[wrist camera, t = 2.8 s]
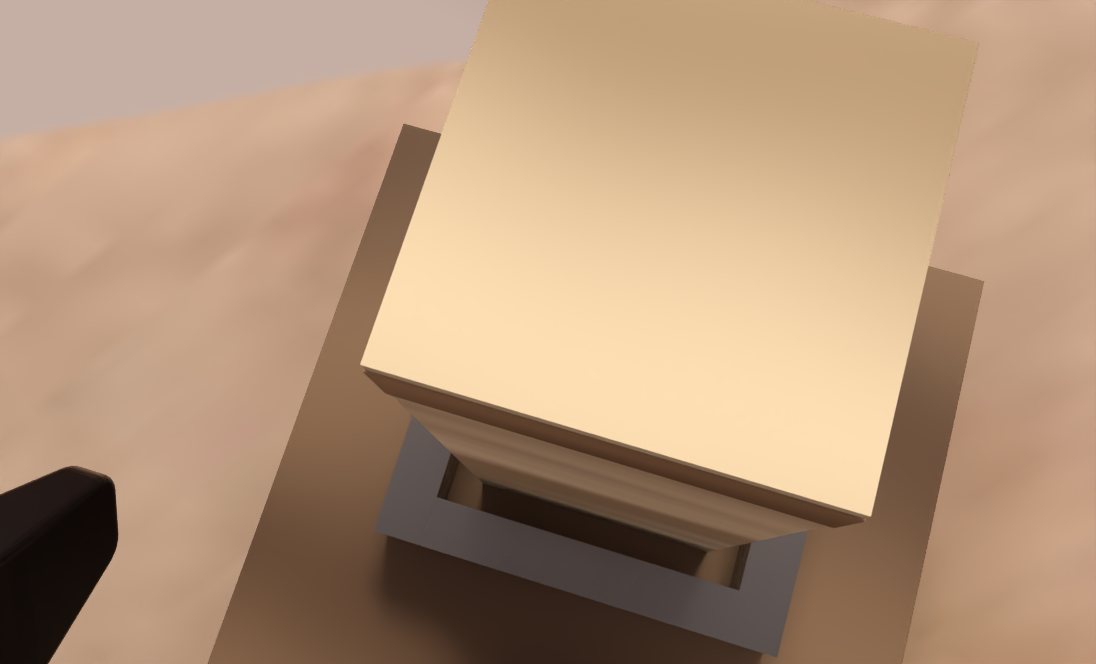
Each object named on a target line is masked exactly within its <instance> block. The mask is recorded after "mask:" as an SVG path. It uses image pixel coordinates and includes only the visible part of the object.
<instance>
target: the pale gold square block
mask: <svg viewBox="0 0 1096 664" xmlns="http://www.w3.org/2000/svg"><path fill="white" fill-rule="evenodd" d="M978 47H979V43H978V42H974V41H970V40H966V39H962V38H958V37H954V36H950V35H946V34H942V33H938V32H934V31H930V30H926V29H922V28H918V27H914V26H910V25H906V24H901V23H897V22H893V21H889V20H885V19H881V18H877V17H873V16H869V15H865V14H861V13H857V12H853V11H849V10H845V9H841V8H837V7H833V6H829V5H825V4H821V3H817V2H813V1H809V0H489V1H488V4H487V7H486V9H485V12H484V15H483V18H482V21H481V24H480V27H479V29H478V32H477V35H476V38H475V41H474V43H473V46H472V49H471V52H470V55H469V57H468V60H467V63H466V66H465V69H464V72H463V74H462V77H461V80H460V83H459V86H458V89H457V91H456V94H455V97H454V100H453V103H452V106H451V108H450V111H449V114H448V117H447V120H446V123H445V125H444V128H443V131H442V134H441V137H440V140H439V142H438V145H437V148H436V151H435V154H434V157H433V159H432V162H431V165H430V168H429V171H428V174H427V176H426V179H425V182H424V185H423V188H422V191H421V193H420V196H419V199H418V202H417V205H416V208H415V210H414V213H413V216H412V219H411V222H410V225H409V227H408V230H407V233H406V236H405V239H404V241H403V244H402V247H401V250H400V253H399V256H398V258H397V261H396V264H395V267H394V270H393V273H392V275H391V278H390V281H389V284H388V287H387V290H386V292H385V295H384V298H383V301H382V304H381V307H380V309H379V312H378V315H377V318H376V321H375V324H374V326H373V329H372V332H371V335H370V338H369V341H368V343H367V346H366V349H365V352H364V355H363V358H362V360H361V363H360V365H361V366H362V367H363V371H362V372H363V373H364V374H365V375H366V376H367V377H368V378H370V379H371V380H372V381H373V382H374V383H375V384H376V385H377V386H378V387H379V388H380V389H381V390H382V391H383V392H384V393H385V394H388V395H391V396H393V397H394V398H395V399H396V400H397V401H398V402H399V403H400V404H401V405H402V406H403V407H404V408H405V409H406V410H407V411H408V412H409V413H410V414H412V415H413V416H414V417H415V418H416V419H417V420H418V421H419V422H420V423H421V424H422V425H423V426H424V427H425V428H426V429H427V430H428V431H429V432H430V433H431V434H432V435H433V436H434V437H435V438H436V439H437V440H438V441H439V442H440V443H442V444H443V445H444V446H445V447H446V448H447V449H448V450H449V451H450V452H451V453H452V454H453V455H454V456H455V457H456V458H457V459H458V460H459V461H460V462H461V463H462V464H463V465H464V466H465V467H466V468H467V469H468V470H469V471H470V472H472V473H473V474H474V475H475V476H476V477H477V478H478V479H479V480H480V481H481V482H482V483H483V484H487V485H490V486H493V487H497V488H500V489H503V490H506V491H510V492H513V493H516V494H519V495H523V496H526V497H529V498H532V499H536V500H539V501H542V502H546V503H549V504H552V505H555V506H559V507H562V508H565V509H568V510H572V511H575V512H578V513H581V514H585V515H588V516H591V517H595V518H598V519H601V520H604V521H608V522H611V523H614V524H617V525H621V526H624V527H627V528H630V529H634V530H637V531H640V532H644V533H647V534H650V535H653V536H657V537H660V538H663V539H666V540H670V541H673V542H676V543H679V544H683V545H686V546H689V547H693V548H696V549H699V550H702V551H706V552H710V551H714V550H719V549H724V548H728V547H733V546H737V545H742V544H747V543H751V542H756V541H761V540H765V539H770V538H775V537H779V536H784V535H789V534H793V533H798V532H802V531H807V530H812V529H816V528H821V527H826V526H828V527H831V528H837V527H842V526H847V525H852V524H857V523H862V522H866V518H867V517H871V514H872V510H873V506H874V501H875V497H876V492H877V488H878V484H879V479H880V475H881V471H882V466H883V462H884V458H885V453H886V449H887V444H888V440H889V436H890V431H891V427H892V423H893V418H894V414H895V409H896V405H897V401H898V396H899V392H900V388H901V383H902V379H903V374H904V370H905V366H906V361H907V357H908V353H909V348H910V344H911V340H912V335H913V331H914V326H915V322H916V318H917V313H918V309H919V305H920V300H921V296H922V291H923V287H924V283H925V278H926V274H927V270H928V265H929V261H930V256H931V252H932V248H933V243H934V239H935V235H936V230H937V226H938V222H939V217H940V213H941V208H942V204H943V200H944V195H945V191H946V187H947V182H948V178H949V173H950V169H951V165H952V160H953V156H954V152H955V147H956V143H957V138H958V134H959V130H960V125H961V121H962V117H963V112H964V108H965V103H966V99H967V95H968V90H969V86H970V82H971V77H972V73H973V69H974V64H975V60H976V55H977V51H978Z"/></svg>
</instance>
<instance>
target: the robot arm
mask: <svg viewBox="0 0 1096 664" xmlns="http://www.w3.org/2000/svg"><path fill="white" fill-rule="evenodd" d="M117 542H118V522H117V507H116V492H115V485H114V483H113V481H112V479H111V478H110V477H108V476H107V475H104V474H101V473H98V472H95V471H92V470H88V469H85V468H82V467H78V466H69V467H65V468H62V469H59V470H57V471H55V472H52V473H50V474H47V475H45V476H43V477H40V478H38V479H36V480H33V481H31V482H28V483H26V484H24V485H21V486H19V487H17V488H14V489H12V490H10V491H7V492H5V493H2V494H0V664H48V663H49V662H50V660H51V658H52V657H53V655H54V653H55V652H56V650H57V648H58V647H59V645H60V644H61V642H62V640H63V639H64V637H65V635H66V634H67V632H68V630H69V629H70V627H71V625H72V624H73V622H74V621H75V619H76V617H77V616H78V614H79V612H80V611H81V609H82V607H83V606H84V604H85V602H86V601H87V599H88V598H89V596H90V594H91V593H92V591H93V589H94V588H95V586H96V584H97V583H98V581H99V579H100V578H101V576H102V575H103V573H104V571H105V570H106V568H107V566H108V565H109V563H110V561H111V559H112V557H113V555H114V553H115V550H116V547H117Z"/></svg>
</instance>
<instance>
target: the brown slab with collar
mask: <svg viewBox="0 0 1096 664" xmlns="http://www.w3.org/2000/svg"><path fill="white" fill-rule="evenodd" d="M440 137H441V134H440V133H436V132H432V131H429V130H425V129H421V128H417V127H414V126H410V125H406V124H403V127H402V130H401V133H400V135H399V138H398V141H397V144H396V146H395V149H394V152H393V155H392V157H391V160H390V163H389V166H388V168H387V171H386V174H385V177H384V180H383V182H382V185H381V188H380V191H379V193H378V196H377V199H376V202H375V204H374V207H373V210H372V213H371V215H370V218H369V221H368V224H367V226H366V229H365V232H364V235H363V237H362V240H361V243H360V246H359V248H358V251H357V254H356V257H355V259H354V262H353V265H352V268H351V270H350V273H349V276H348V279H347V281H346V284H345V287H344V290H343V292H342V295H341V298H340V301H339V303H338V306H337V309H336V312H335V314H334V317H333V320H332V323H331V325H330V328H329V331H328V334H327V336H326V339H325V342H324V345H323V347H322V350H321V353H320V356H319V358H318V361H317V364H316V367H315V369H314V372H313V375H312V378H311V380H310V383H309V386H308V389H307V391H306V394H305V397H304V400H303V403H302V405H301V408H300V411H299V414H298V416H297V419H296V422H295V425H294V427H293V430H292V433H291V436H290V438H289V441H288V444H287V447H286V449H285V452H284V455H283V458H282V460H281V463H280V466H279V469H278V471H277V474H276V477H275V480H274V482H273V485H272V488H271V491H270V493H269V496H268V499H267V502H266V504H265V507H264V510H263V513H262V515H261V518H260V521H259V524H258V526H257V529H256V532H255V535H254V537H253V540H252V543H251V546H250V548H249V551H248V554H247V557H246V559H245V562H244V565H243V568H242V570H241V573H240V576H239V579H238V581H237V584H236V587H235V590H234V592H233V595H232V598H231V601H230V603H229V606H228V609H227V612H226V614H225V617H224V620H223V623H222V626H221V628H220V631H219V634H218V637H217V639H216V642H215V645H214V648H213V650H212V653H211V656H210V659H209V661H208V664H902V660H903V656H904V651H905V647H906V642H907V637H908V633H909V628H910V623H911V619H912V614H913V609H914V605H915V600H916V595H917V591H918V586H919V581H920V577H921V572H922V567H923V563H924V558H925V554H926V549H927V544H928V540H929V535H930V530H931V526H932V521H933V516H934V512H935V507H936V502H937V498H938V493H939V488H940V484H941V479H942V474H943V470H944V465H945V461H946V456H947V451H948V447H949V442H950V437H951V433H952V428H953V423H954V419H955V414H956V409H957V405H958V400H959V395H960V391H961V386H962V381H963V377H964V372H965V368H966V363H967V358H968V354H969V349H970V344H971V340H972V335H973V330H974V326H975V321H976V316H977V312H978V307H979V302H980V298H981V293H982V288H983V284H984V281H981V280H978V279H974V278H970V277H967V276H963V275H959V274H956V273H952V272H948V271H945V270H941V269H937V268H933V267H930V266H928V270H927V274H926V278H925V283H924V287H923V291H922V296H921V300H920V305H919V309H918V313H917V318H916V322H915V326H914V331H913V335H912V340H911V344H910V348H909V353H908V357H907V361H906V366H905V370H904V374H903V379H902V383H901V388H900V392H899V396H898V401H897V405H896V409H895V414H894V418H893V423H892V427H891V431H890V436H889V440H888V444H887V449H886V453H885V458H884V462H883V466H882V471H881V475H880V479H879V484H878V488H877V492H876V497H875V501H874V506H873V510H872V514H871V517H867V518H866V522H862V523H857V524H852V525H847V526H842V527H837V528H831V527H828V526H826V527H821V528H816V529H812V530H807V531H802V532H798V533H793V534H789V535H784V536H779V537H775V538H770V539H765V540H761V541H756V542H751V543H747V544H742V545H737V546H733V547H728V548H724V549H719V550H714V551H710V552H706V551H702V550H699V549H696V548H693V547H689V546H686V545H683V544H679V543H676V542H673V541H670V540H666V539H663V538H660V537H657V536H653V535H650V534H647V533H644V532H640V531H637V530H634V529H630V528H627V527H624V526H621V525H617V524H614V523H611V522H608V521H604V520H601V519H598V518H595V517H591V516H588V515H585V514H581V513H578V512H575V511H572V510H568V509H565V508H562V507H559V506H555V505H552V504H549V503H546V502H542V501H539V500H536V499H532V498H529V497H526V496H523V495H519V494H516V493H513V492H510V491H506V490H503V489H500V488H497V487H493V486H490V485H487V484H483V483H482V482H481V481H480V480H479V479H478V478H477V477H476V476H475V475H474V474H473V473H472V472H470V471H469V470H468V469H467V468H466V467H465V466H464V465H463V464H462V463H461V462H460V461H459V460H458V459H457V458H456V457H455V456H454V455H453V454H452V453H451V452H450V451H449V450H448V449H447V448H446V447H445V446H444V445H443V444H442V443H440V442H439V441H438V440H437V439H436V438H435V437H434V436H433V435H432V434H431V433H430V432H429V431H428V430H427V429H426V428H425V427H424V426H423V425H422V424H421V423H420V422H419V421H418V420H417V419H416V418H415V417H414V416H413V415H412V414H410V413H409V412H408V411H407V410H406V409H405V408H404V407H403V406H402V405H401V404H400V403H399V402H398V401H397V400H396V399H395V398H394V397H393V396H391V395H388V394H385V393H384V392H383V391H382V390H381V389H380V388H379V387H378V386H377V385H376V384H375V383H374V382H373V381H372V380H371V379H370V378H368V377H367V376H366V375H365V374H364V373H363V372H362V371H363V367H362V366H361V365H360V363H361V360H362V358H363V355H364V352H365V349H366V346H367V343H368V341H369V338H370V335H371V332H372V329H373V326H374V324H375V321H376V318H377V315H378V312H379V309H380V307H381V304H382V301H383V298H384V295H385V292H386V290H387V287H388V284H389V281H390V278H391V275H392V273H393V270H394V267H395V264H396V261H397V258H398V256H399V253H400V250H401V247H402V244H403V241H404V239H405V236H406V233H407V230H408V227H409V225H410V222H411V219H412V216H413V213H414V210H415V208H416V205H417V202H418V199H419V196H420V193H421V191H422V188H423V185H424V182H425V179H426V176H427V174H428V171H429V168H430V165H431V162H432V159H433V157H434V154H435V151H436V148H437V145H438V142H439V140H440Z"/></svg>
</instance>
